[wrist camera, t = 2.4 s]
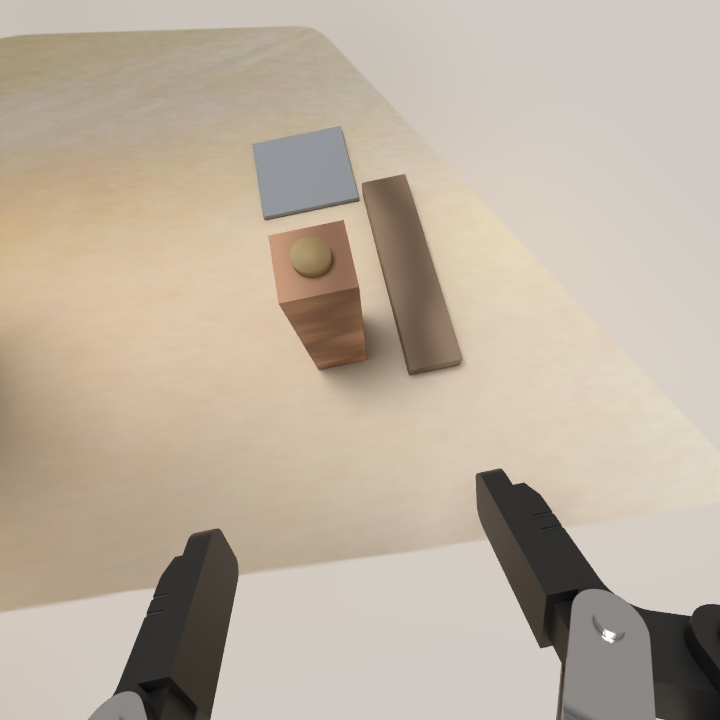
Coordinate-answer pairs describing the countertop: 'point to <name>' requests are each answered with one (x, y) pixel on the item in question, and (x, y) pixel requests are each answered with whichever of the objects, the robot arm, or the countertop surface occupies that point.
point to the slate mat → (304, 173)
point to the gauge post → (320, 292)
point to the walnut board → (410, 277)
